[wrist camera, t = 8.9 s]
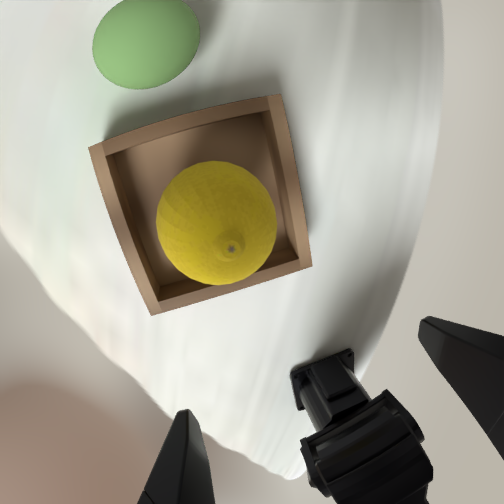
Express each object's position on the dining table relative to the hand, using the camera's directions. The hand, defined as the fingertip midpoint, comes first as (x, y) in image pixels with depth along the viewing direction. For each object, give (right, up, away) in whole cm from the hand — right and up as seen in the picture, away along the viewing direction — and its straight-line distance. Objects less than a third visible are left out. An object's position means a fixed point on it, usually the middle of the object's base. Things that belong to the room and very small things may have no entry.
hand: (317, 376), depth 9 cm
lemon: (-5, +7, +8) cm, 12 cm away
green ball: (-8, +16, +4) cm, 18 cm away
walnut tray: (-5, +7, +9) cm, 13 cm away
